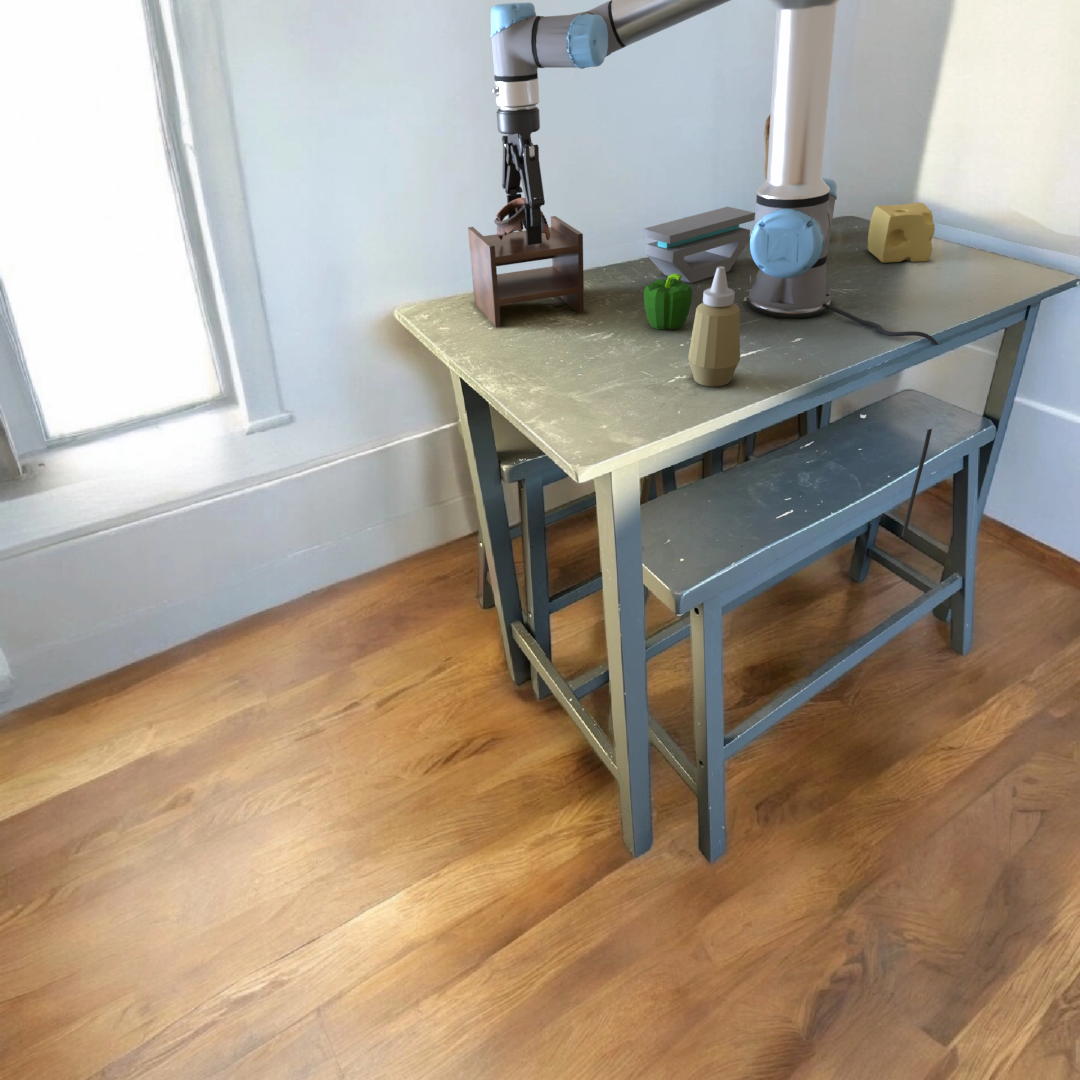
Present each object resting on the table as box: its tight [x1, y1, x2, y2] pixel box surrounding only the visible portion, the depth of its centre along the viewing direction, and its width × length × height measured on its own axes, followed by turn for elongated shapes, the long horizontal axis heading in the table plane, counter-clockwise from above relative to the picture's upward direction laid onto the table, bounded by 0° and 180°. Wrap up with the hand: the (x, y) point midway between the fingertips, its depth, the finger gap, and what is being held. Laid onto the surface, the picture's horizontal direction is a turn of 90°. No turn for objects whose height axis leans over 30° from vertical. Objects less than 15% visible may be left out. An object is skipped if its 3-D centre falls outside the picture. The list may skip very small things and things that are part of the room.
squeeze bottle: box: [687, 266, 741, 387], centre depth 132 cm, size 8×8×18 cm
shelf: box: [467, 215, 585, 328], centre depth 165 cm, size 15×18×15 cm
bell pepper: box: [643, 273, 693, 330], centre depth 155 cm, size 8×8×10 cm
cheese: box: [867, 202, 936, 264], centre depth 184 cm, size 10×11×10 cm
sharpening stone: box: [642, 206, 756, 284], centre depth 180 cm, size 25×8×11 cm, turn 127°
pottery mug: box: [493, 197, 551, 240], centre depth 160 cm, size 12×10×8 cm
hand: (525, 236), depth 161 cm, fingers closed on pottery mug, 10 cm apart
